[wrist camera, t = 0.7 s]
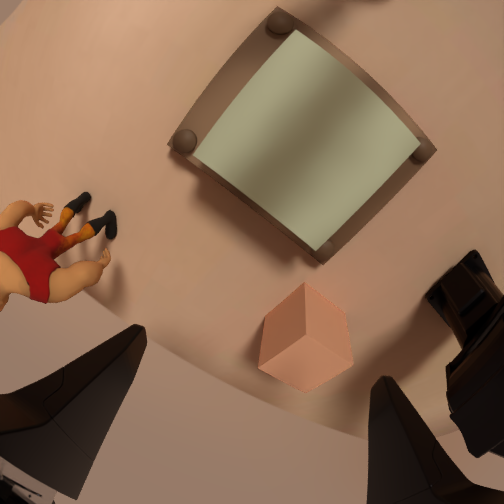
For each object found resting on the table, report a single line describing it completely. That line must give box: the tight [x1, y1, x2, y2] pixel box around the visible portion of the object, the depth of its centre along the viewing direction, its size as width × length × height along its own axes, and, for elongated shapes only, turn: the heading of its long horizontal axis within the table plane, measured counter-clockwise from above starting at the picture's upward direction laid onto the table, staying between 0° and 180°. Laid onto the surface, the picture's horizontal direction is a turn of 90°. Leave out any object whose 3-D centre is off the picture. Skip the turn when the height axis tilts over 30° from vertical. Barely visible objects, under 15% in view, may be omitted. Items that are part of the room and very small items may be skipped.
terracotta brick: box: [258, 282, 354, 393], centre depth 22 cm, size 5×5×6 cm
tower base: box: [167, 6, 437, 265], centre depth 15 cm, size 14×12×4 cm
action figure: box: [0, 192, 117, 312], centre depth 15 cm, size 10×4×15 cm, turn 54°
